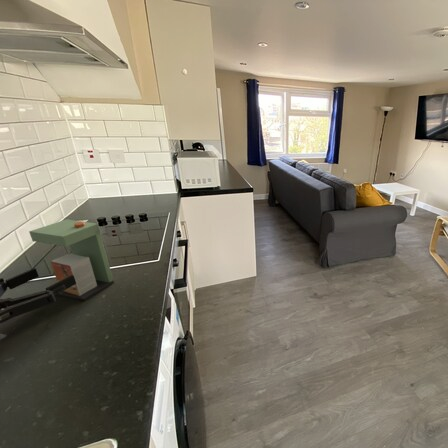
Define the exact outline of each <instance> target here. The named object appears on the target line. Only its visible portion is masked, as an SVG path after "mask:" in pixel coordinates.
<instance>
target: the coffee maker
mask: <svg viewBox="0 0 448 448" xmlns="http://www.w3.org/2000/svg"><path fill="white" fill-rule="evenodd" d="M28 232H29V235H30V238H31V240H32V242H36V243H42V244H47V245H48V244H49V245H54V246H61V247H69V248H70V252H71V254H75V255H80V256H84V257H89V259H90V262H91V266H92V269H93V273H94V276H95V280H96V283H97V286H96V287H95V288H93V289H91V290H89V291H87V292H86V293H84V294H82V295H81V296H78V295H75V294H72V293H68V292H64V291H62V292H61V293H59V294H57V295H56V296H58V297H62V298H67V299H72V300H76V301H80V302H81V301H83V302H86V301H88V300H89V299H91V298H93V297H94V296H95V295H97V294H98V293H100V292H102V291H103V290H105V289H107V288H108V287H110V286H111V285H112V284H114V283H115V281H114V277H113V273H112V270H111V267H110V263H109V259H108V256H107V252H106V248H105V245H104V241H103V237H102V234H101V230H100V226H99V223H96V222H89V221H81V220H73V219H63V220H61V221H58V222H55V223H51V224H48V225H45V226H42V227H38V228H36V229H35V228H34V229H33V230H29V231H28Z"/></svg>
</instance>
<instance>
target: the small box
mask: <svg viewBox="0 0 448 448" xmlns="http://www.w3.org/2000/svg"><path fill="white" fill-rule="evenodd" d="M50 265H51V268H52V270H53V273H54V276H55V279H56V283H57V282H59V281H61V280H63V279H65V278H67V277H69V276H71V275H74V278H75V281H76V284H75V285H73V286H71V287H70V288H68V289H66V290H64V292H68V293H72V294H75V295H78V296H81V295H82V294H84V293H86V292H87V291H89V290H91V289H93V288H95V287H96V286H97V283H96V280H95V276H94V273H93V269H92V266H91V262H90V259H89V257H84V256H80V255H75V254H72V252H71V253H70V252H69V253H67V254H65V255H62V256H59V257H57V258H55V259H52V260H50Z"/></svg>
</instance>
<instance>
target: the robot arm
mask: <svg viewBox="0 0 448 448" xmlns="http://www.w3.org/2000/svg"><path fill="white" fill-rule="evenodd" d="M39 277H40V276H39V273H38V270H37V268H35V267H32V268H30V269H29V270H26V271H23V272H22V273H19V274H16V275H14V276H12V277H10V278H7V279H5V280H4V278H3V277H2V278H0V324H3V323H5V322H7V321H9V320H12V319H13V318H16V317H18V316H21V315H24V314H26V313H29V312H32V311H35V310H37V309H41V308H44V307H46V306H49V305H51V304H53V303H56V297H55V296H57V294H59V293H61V292H62V291H64V290H66V289H68V288H70V287H71V286H73V285H75V284H76V281H75V278H74V275H71V276H69V277H67V278H65V279H63V280H61V281H59V282H57V281H56V282H55V283H52V284H51V285H50V286H48V287H47V286H46V288H45V290H41V291H38V292H34V293H29V294H25V295H22V296H18V297H14V298H12V297H6V298H2V296H3V295H4V294H5V293H6V292H7V291H8V289H9V290H13V289H15V288H18V287H20V286H22V285H24V284H26V283H29V282H30V281H32V280H35V279H37V278H39Z"/></svg>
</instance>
